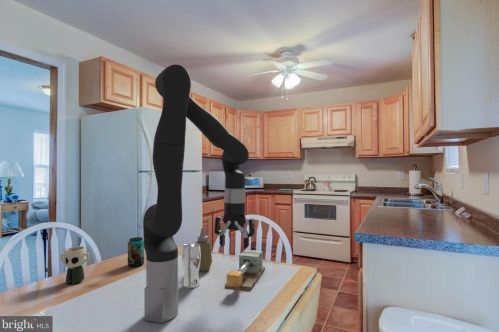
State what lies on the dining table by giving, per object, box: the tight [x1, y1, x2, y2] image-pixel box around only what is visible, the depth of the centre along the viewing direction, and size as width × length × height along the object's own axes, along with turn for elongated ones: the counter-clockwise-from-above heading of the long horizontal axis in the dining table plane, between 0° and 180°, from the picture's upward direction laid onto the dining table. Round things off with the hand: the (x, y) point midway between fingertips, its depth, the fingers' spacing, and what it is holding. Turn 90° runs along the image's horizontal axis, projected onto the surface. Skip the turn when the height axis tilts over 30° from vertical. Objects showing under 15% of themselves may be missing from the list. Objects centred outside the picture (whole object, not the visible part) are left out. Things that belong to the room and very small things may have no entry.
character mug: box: [60, 245, 90, 285], centre depth 111 cm, size 11×7×13 cm, turn 91°
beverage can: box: [127, 236, 145, 268], centre depth 130 cm, size 7×7×12 cm
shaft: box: [226, 260, 253, 287], centre depth 110 cm, size 22×4×4 cm, turn 163°
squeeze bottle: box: [195, 227, 213, 272], centre depth 124 cm, size 8×8×18 cm
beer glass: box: [181, 242, 201, 289], centre depth 108 cm, size 7×7×15 cm
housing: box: [224, 249, 266, 291], centre depth 115 cm, size 22×10×8 cm, turn 163°
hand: (234, 247), depth 101 cm, fingers open, 8 cm apart
